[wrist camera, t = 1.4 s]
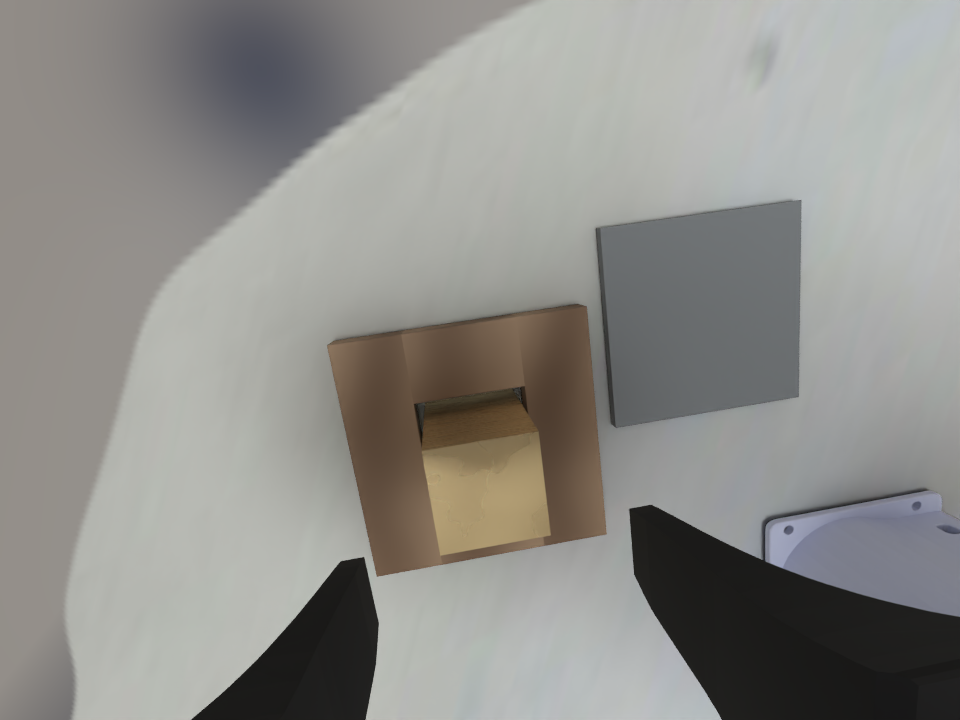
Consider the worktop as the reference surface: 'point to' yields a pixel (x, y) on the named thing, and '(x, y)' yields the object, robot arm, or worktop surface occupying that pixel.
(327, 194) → the worktop surface
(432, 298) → the worktop surface
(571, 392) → the walnut square frame
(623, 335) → the charcoal mat
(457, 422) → the brass plug
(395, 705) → the worktop surface
